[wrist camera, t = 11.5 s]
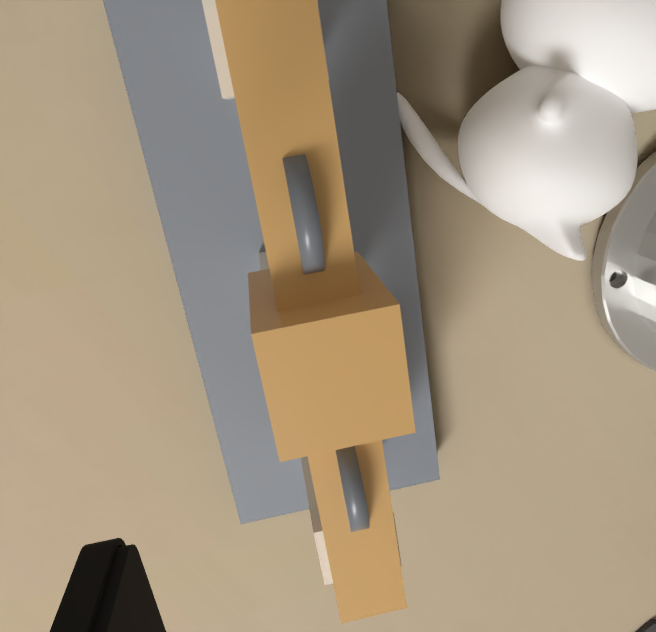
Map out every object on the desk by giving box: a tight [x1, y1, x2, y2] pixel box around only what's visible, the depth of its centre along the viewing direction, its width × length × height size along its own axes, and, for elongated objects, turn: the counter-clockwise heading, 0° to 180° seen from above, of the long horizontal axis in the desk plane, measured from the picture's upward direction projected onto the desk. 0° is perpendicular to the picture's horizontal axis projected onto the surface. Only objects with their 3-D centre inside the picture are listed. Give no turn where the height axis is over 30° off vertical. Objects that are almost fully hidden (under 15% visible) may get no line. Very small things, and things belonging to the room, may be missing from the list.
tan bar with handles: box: [215, 0, 416, 624], centre depth 19 cm, size 4×20×6 cm, turn 9°
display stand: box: [103, 0, 440, 585], centre depth 23 cm, size 10×23×8 cm, turn 9°
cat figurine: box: [397, 0, 656, 261], centre depth 22 cm, size 9×11×12 cm
